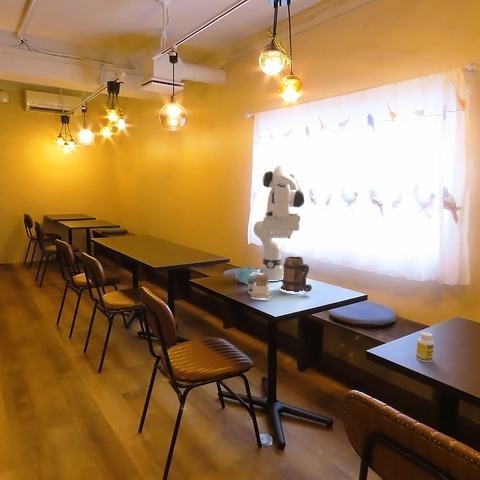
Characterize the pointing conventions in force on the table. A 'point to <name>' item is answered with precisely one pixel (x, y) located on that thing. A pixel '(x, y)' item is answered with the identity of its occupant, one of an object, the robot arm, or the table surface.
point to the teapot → (246, 273)
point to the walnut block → (261, 280)
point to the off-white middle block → (260, 289)
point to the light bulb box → (252, 280)
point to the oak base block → (261, 295)
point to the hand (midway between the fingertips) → (280, 238)
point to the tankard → (295, 275)
